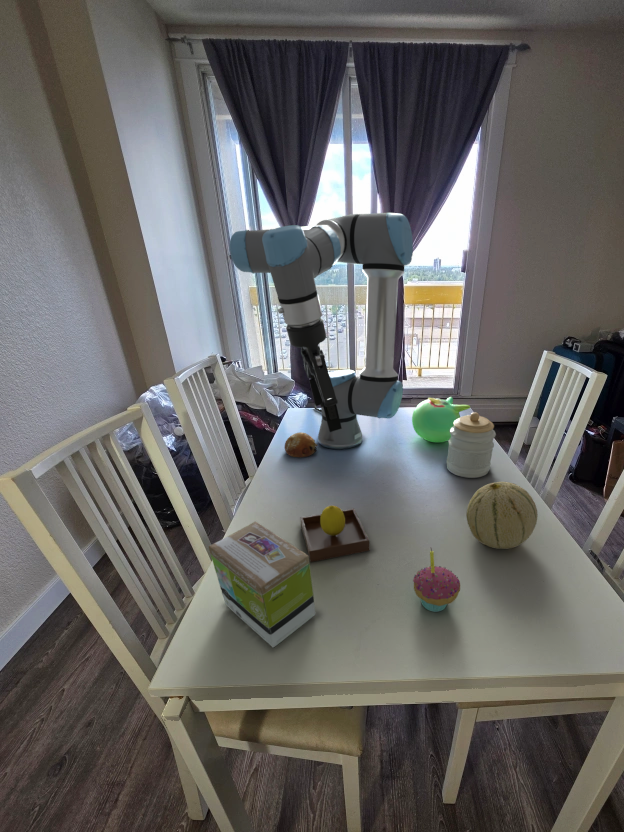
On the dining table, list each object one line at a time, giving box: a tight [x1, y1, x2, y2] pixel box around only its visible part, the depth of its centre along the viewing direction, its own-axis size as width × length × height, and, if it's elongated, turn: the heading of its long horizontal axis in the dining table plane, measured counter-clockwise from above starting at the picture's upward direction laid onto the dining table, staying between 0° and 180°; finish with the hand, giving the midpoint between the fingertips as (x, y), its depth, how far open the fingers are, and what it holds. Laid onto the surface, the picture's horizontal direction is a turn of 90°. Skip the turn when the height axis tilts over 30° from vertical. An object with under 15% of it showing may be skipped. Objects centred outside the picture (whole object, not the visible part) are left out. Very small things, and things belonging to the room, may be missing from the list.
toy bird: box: [411, 396, 471, 444], centre depth 138 cm, size 18×17×15 cm
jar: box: [446, 411, 497, 479], centre depth 118 cm, size 13×13×18 cm
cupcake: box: [412, 547, 461, 613], centre depth 74 cm, size 9×8×12 cm
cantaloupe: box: [466, 481, 538, 550], centre depth 89 cm, size 15×15×15 cm
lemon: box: [320, 505, 345, 536], centre depth 91 cm, size 6×6×8 cm
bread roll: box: [284, 431, 319, 458], centre depth 132 cm, size 10×10×8 cm
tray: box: [299, 507, 371, 563], centre depth 93 cm, size 13×13×3 cm
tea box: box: [208, 521, 316, 648], centre depth 71 cm, size 15×10×15 cm
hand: (327, 416), depth 94 cm, fingers open, 13 cm apart
